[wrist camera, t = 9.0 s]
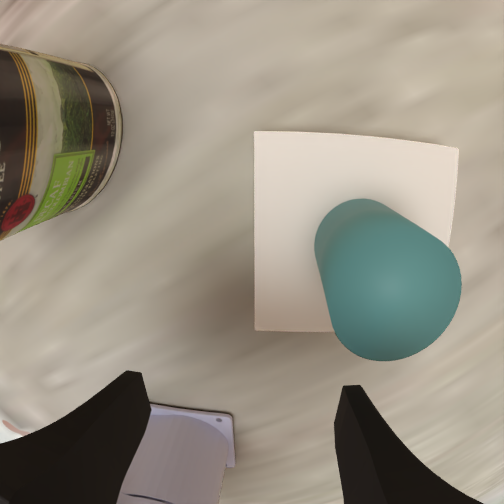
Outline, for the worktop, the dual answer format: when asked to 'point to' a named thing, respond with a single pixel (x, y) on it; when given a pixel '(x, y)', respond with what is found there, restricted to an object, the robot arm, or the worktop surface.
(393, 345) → the teal cylinder
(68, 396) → the worktop surface
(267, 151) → the plinth
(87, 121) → the coffee can
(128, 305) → the worktop surface
